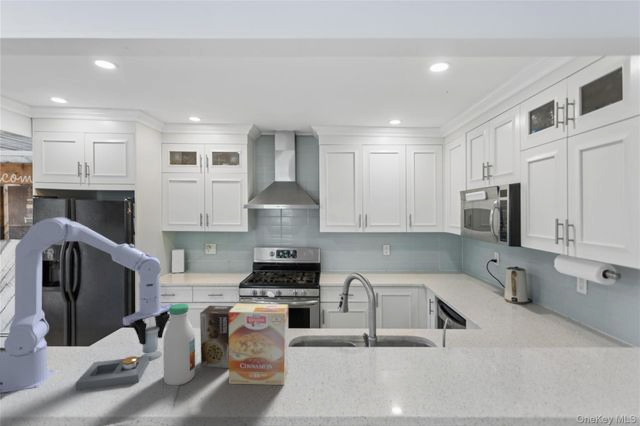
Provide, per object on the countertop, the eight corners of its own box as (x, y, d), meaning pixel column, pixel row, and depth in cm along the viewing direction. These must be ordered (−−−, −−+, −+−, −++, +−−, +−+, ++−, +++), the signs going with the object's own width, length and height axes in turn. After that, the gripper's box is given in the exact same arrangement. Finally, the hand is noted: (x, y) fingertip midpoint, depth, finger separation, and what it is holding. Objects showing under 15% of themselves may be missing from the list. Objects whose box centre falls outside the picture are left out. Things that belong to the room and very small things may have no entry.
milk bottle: (183, 388, 78) (182, 312, 77) (157, 384, 79) (156, 309, 79) (200, 372, 85) (200, 302, 85) (176, 368, 87) (175, 300, 86)
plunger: (120, 376, 82) (120, 363, 81) (125, 369, 85) (125, 357, 85) (134, 374, 82) (134, 361, 82) (138, 368, 86) (138, 355, 86)
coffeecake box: (228, 384, 80) (227, 311, 79) (236, 369, 87) (236, 302, 86) (284, 386, 79) (284, 312, 78) (288, 370, 86) (288, 303, 86)
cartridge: (138, 350, 92) (139, 328, 92) (153, 345, 96) (154, 324, 96) (145, 354, 89) (147, 331, 90) (161, 349, 93) (162, 327, 93)
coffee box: (238, 357, 94) (238, 305, 93) (230, 368, 87) (229, 313, 86) (210, 355, 94) (209, 304, 94) (199, 366, 88) (199, 312, 87)
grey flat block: (76, 392, 76) (75, 382, 76) (94, 370, 86) (94, 362, 86) (138, 383, 80) (138, 374, 80) (149, 363, 89) (149, 355, 89)
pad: (137, 363, 89) (137, 362, 89) (143, 353, 95) (143, 352, 95) (159, 360, 91) (159, 359, 91) (164, 351, 97) (164, 350, 97)
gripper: (130, 306, 84) (131, 353, 85) (180, 293, 96) (180, 335, 97) (119, 301, 88) (120, 346, 89) (168, 289, 100) (168, 329, 101)
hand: (150, 340), depth 93 cm, fingers closed on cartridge, 4 cm apart
